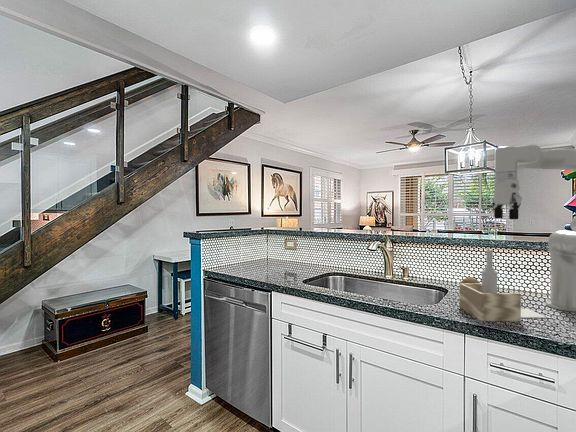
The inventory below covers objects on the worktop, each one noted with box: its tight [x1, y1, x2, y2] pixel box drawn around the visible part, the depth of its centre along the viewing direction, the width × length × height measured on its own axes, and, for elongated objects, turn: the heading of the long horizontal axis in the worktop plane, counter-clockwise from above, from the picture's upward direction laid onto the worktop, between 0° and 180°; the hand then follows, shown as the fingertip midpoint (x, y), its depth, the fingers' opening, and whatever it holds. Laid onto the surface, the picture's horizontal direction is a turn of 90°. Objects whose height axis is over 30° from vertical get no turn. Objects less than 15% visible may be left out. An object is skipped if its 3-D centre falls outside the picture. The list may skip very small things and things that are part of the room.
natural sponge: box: [460, 277, 481, 283], centre depth 142 cm, size 9×9×10 cm
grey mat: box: [521, 308, 548, 319], centre depth 122 cm, size 10×10×1 cm
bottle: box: [481, 249, 498, 293], centre depth 123 cm, size 5×5×25 cm
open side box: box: [459, 282, 522, 322], centre depth 123 cm, size 14×16×10 cm
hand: (505, 218), depth 130 cm, fingers open, 9 cm apart
